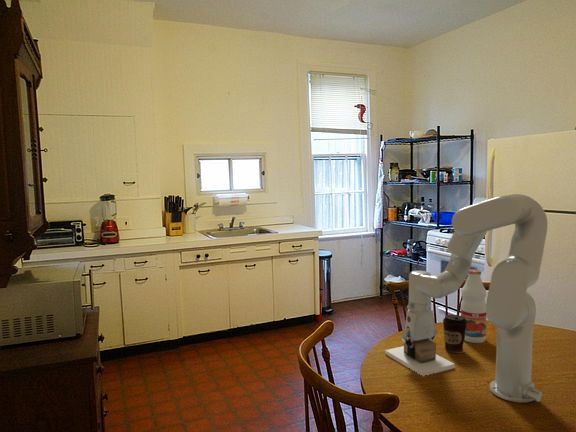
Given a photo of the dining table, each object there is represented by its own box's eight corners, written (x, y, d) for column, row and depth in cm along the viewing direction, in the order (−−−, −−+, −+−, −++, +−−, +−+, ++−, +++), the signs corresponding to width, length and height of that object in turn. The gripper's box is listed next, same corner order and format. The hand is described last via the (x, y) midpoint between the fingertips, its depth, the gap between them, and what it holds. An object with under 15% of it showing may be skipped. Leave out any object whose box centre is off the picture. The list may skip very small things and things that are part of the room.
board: (454, 368, 147) (454, 363, 147) (422, 376, 141) (422, 372, 141) (414, 347, 165) (414, 343, 165) (385, 354, 159) (385, 350, 159)
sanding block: (435, 359, 150) (436, 343, 149) (421, 363, 147) (421, 346, 146) (417, 350, 158) (418, 334, 157) (403, 353, 155) (404, 337, 155)
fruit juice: (484, 336, 175) (486, 268, 172) (486, 344, 166) (488, 273, 163) (459, 333, 178) (461, 267, 176) (460, 342, 169) (461, 272, 167)
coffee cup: (462, 357, 156) (463, 322, 154) (439, 351, 161) (439, 318, 159) (468, 349, 162) (469, 315, 161) (446, 344, 167) (447, 311, 166)
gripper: (407, 312, 144) (406, 364, 146) (446, 305, 151) (445, 354, 153) (393, 306, 151) (392, 355, 153) (431, 300, 158) (430, 347, 160)
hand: (419, 354), depth 153 cm, fingers closed on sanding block, 6 cm apart
